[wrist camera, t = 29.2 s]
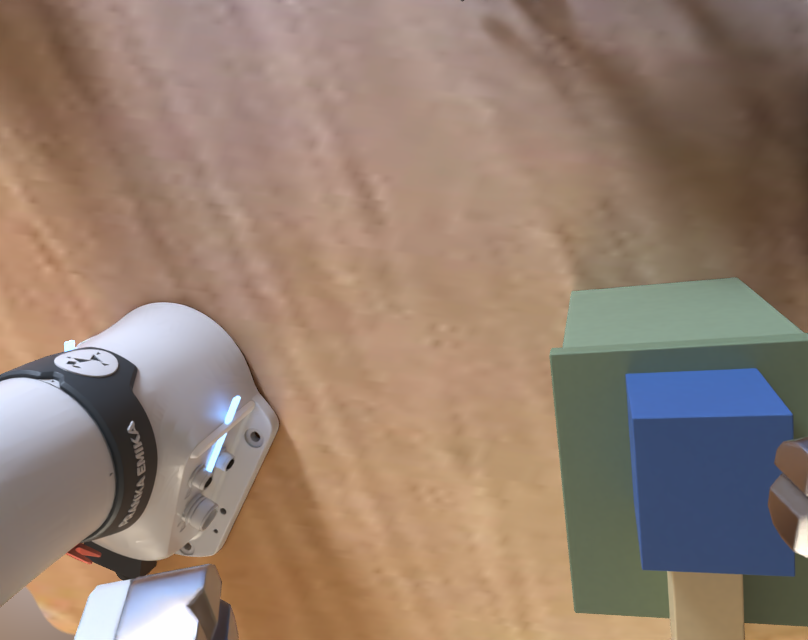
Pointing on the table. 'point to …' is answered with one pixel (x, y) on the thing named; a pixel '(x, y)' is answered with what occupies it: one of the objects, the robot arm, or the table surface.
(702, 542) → the toy hammer
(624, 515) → the toy box
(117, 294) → the table surface
